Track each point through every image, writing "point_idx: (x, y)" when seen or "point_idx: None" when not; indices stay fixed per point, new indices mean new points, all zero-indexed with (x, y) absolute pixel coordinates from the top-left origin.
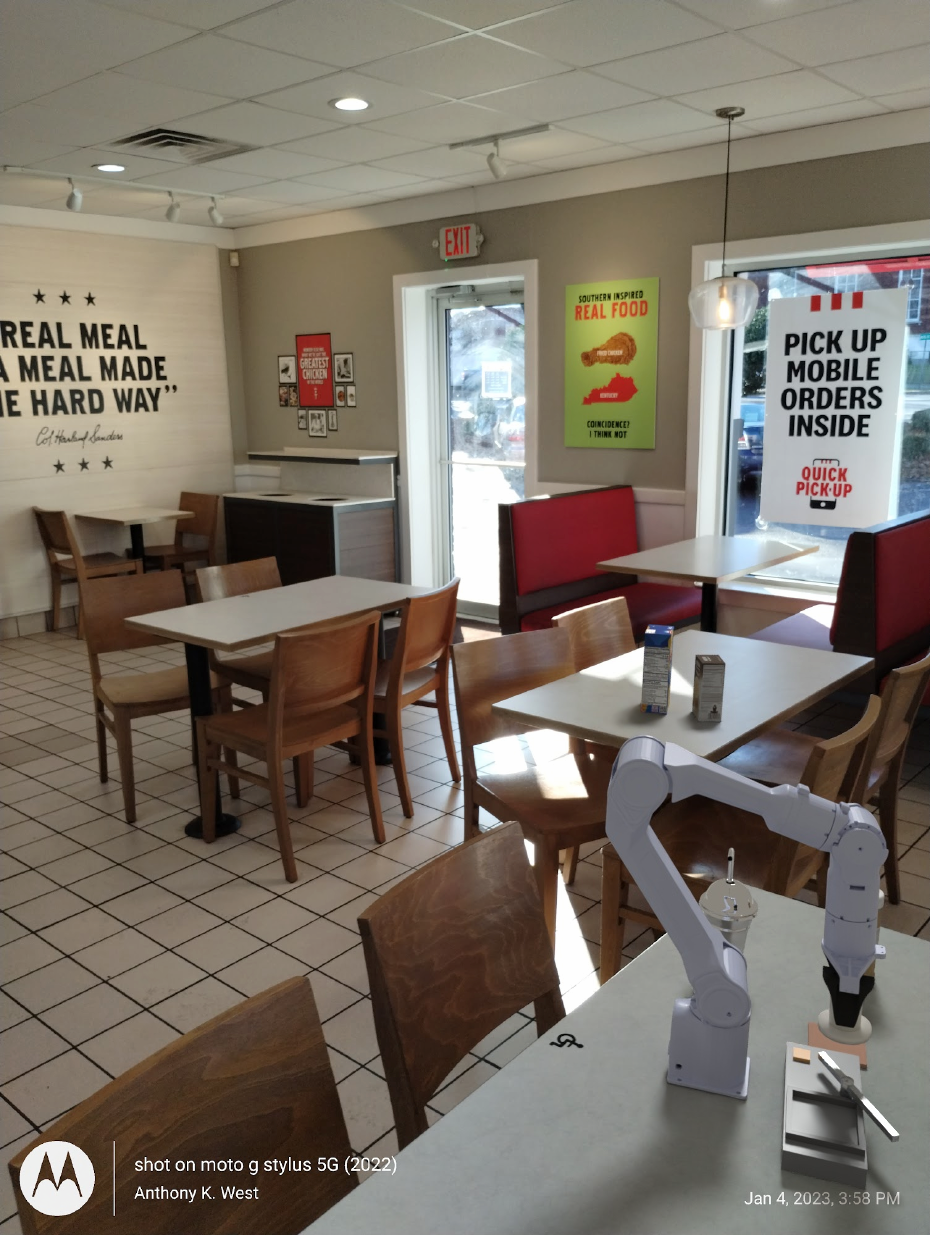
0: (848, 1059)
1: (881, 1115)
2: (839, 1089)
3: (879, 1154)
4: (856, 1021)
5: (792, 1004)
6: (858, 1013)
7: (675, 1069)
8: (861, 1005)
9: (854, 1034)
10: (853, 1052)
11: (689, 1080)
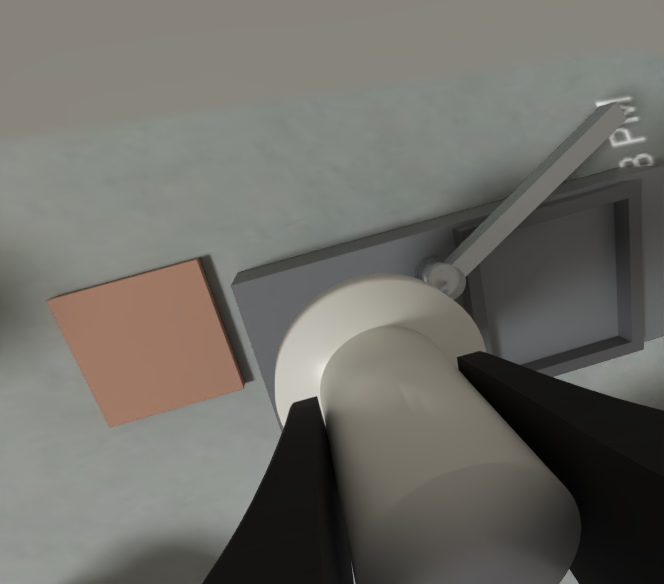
0: (266, 305)
1: (552, 164)
2: None
3: (500, 163)
4: (504, 359)
5: (49, 477)
6: (557, 380)
7: None
8: (628, 402)
9: (450, 333)
10: (165, 302)
11: None
